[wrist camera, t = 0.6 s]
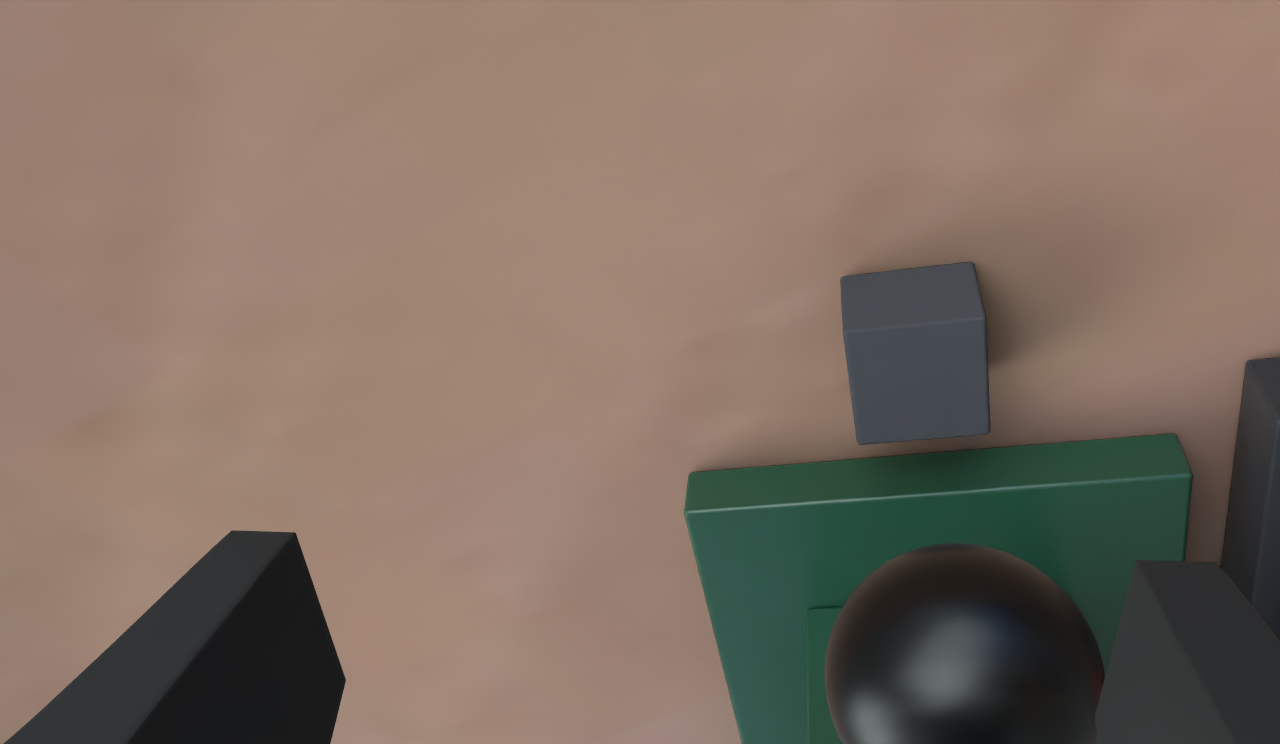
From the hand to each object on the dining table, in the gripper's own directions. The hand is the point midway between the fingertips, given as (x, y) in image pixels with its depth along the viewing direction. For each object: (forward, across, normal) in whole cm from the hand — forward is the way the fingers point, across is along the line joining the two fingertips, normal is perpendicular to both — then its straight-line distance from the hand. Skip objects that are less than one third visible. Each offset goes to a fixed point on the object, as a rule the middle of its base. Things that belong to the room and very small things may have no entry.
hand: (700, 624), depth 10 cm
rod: (+4, -3, +7) cm, 8 cm away
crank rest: (+10, -3, +4) cm, 11 cm away
